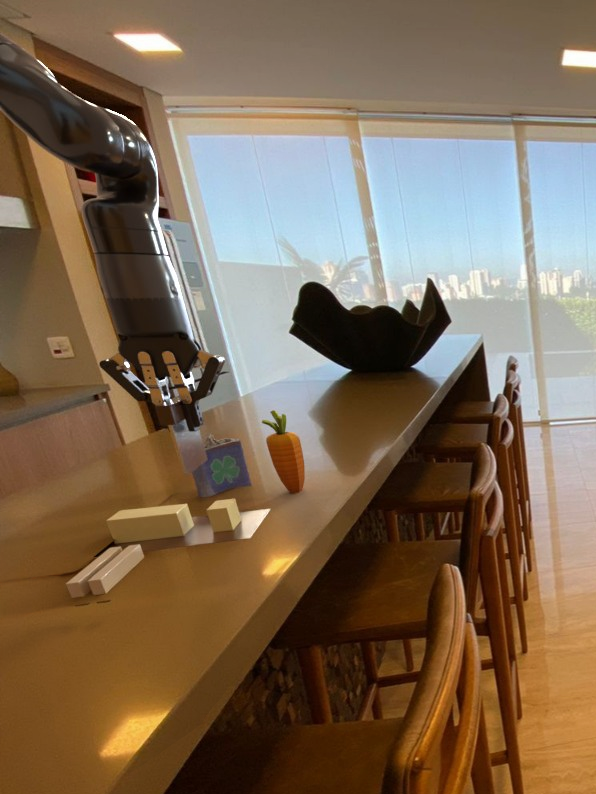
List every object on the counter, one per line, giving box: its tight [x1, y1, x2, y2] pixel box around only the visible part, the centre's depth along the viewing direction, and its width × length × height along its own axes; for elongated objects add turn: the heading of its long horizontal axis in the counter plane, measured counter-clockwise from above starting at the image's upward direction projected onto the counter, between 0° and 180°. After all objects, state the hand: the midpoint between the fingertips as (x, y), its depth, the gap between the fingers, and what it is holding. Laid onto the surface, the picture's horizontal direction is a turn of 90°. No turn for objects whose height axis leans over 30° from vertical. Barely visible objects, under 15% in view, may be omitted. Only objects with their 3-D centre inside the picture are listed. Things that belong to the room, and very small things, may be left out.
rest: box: [65, 544, 145, 607], centre depth 69 cm, size 10×3×3 cm, turn 19°
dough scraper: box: [154, 395, 208, 477], centre depth 77 cm, size 9×2×10 cm, turn 19°
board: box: [92, 508, 271, 559], centre depth 81 cm, size 18×12×1 cm, turn 109°
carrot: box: [261, 409, 306, 494], centre depth 95 cm, size 5×5×15 cm
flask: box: [191, 433, 253, 498], centre depth 97 cm, size 9×3×11 cm, turn 164°
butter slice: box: [206, 498, 241, 532], centre depth 82 cm, size 2×4×4 cm, turn 19°
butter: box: [105, 503, 194, 544], centre depth 79 cm, size 8×4×4 cm, turn 109°
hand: (185, 430), depth 77 cm, fingers closed on dough scraper, 1 cm apart
